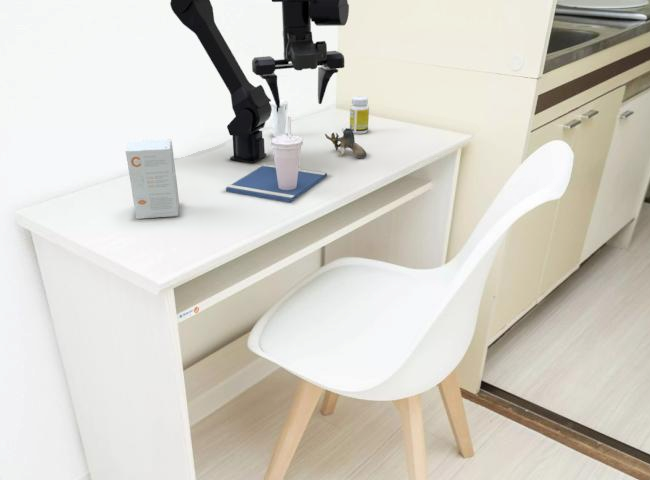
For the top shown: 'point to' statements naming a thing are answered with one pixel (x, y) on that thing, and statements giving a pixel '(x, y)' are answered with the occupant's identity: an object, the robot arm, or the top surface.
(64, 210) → the top surface
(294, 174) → the smoothie
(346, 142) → the eagle figurine
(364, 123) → the supplement bottle
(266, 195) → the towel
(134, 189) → the small box
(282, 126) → the milkshake
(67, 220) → the top surface
